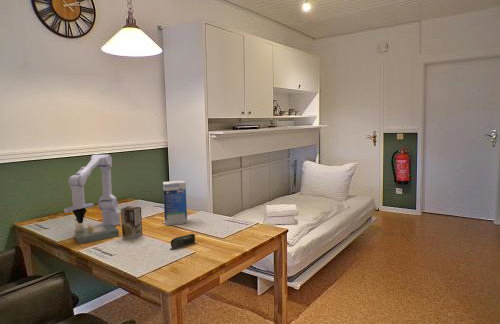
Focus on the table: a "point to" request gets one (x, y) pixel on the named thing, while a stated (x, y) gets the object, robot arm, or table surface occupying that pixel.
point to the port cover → (95, 229)
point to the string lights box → (175, 202)
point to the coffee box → (131, 222)
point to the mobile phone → (182, 241)
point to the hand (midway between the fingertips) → (80, 222)
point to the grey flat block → (96, 234)
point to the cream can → (79, 226)
